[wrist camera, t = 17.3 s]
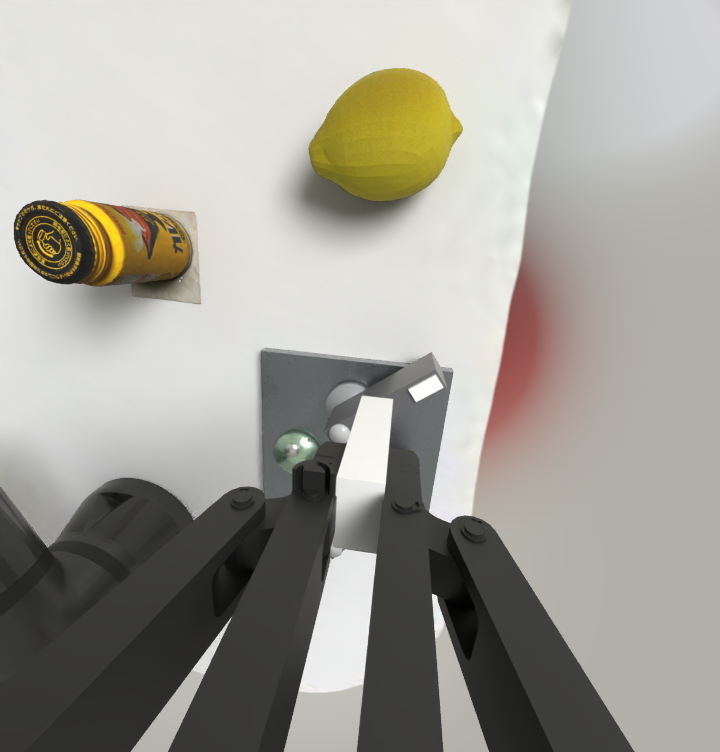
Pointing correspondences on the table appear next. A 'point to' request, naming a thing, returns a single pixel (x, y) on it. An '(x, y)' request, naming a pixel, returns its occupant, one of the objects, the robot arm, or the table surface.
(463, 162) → the table surface
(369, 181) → the lemon
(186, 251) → the condiment
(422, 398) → the grey lever handle
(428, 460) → the plate
